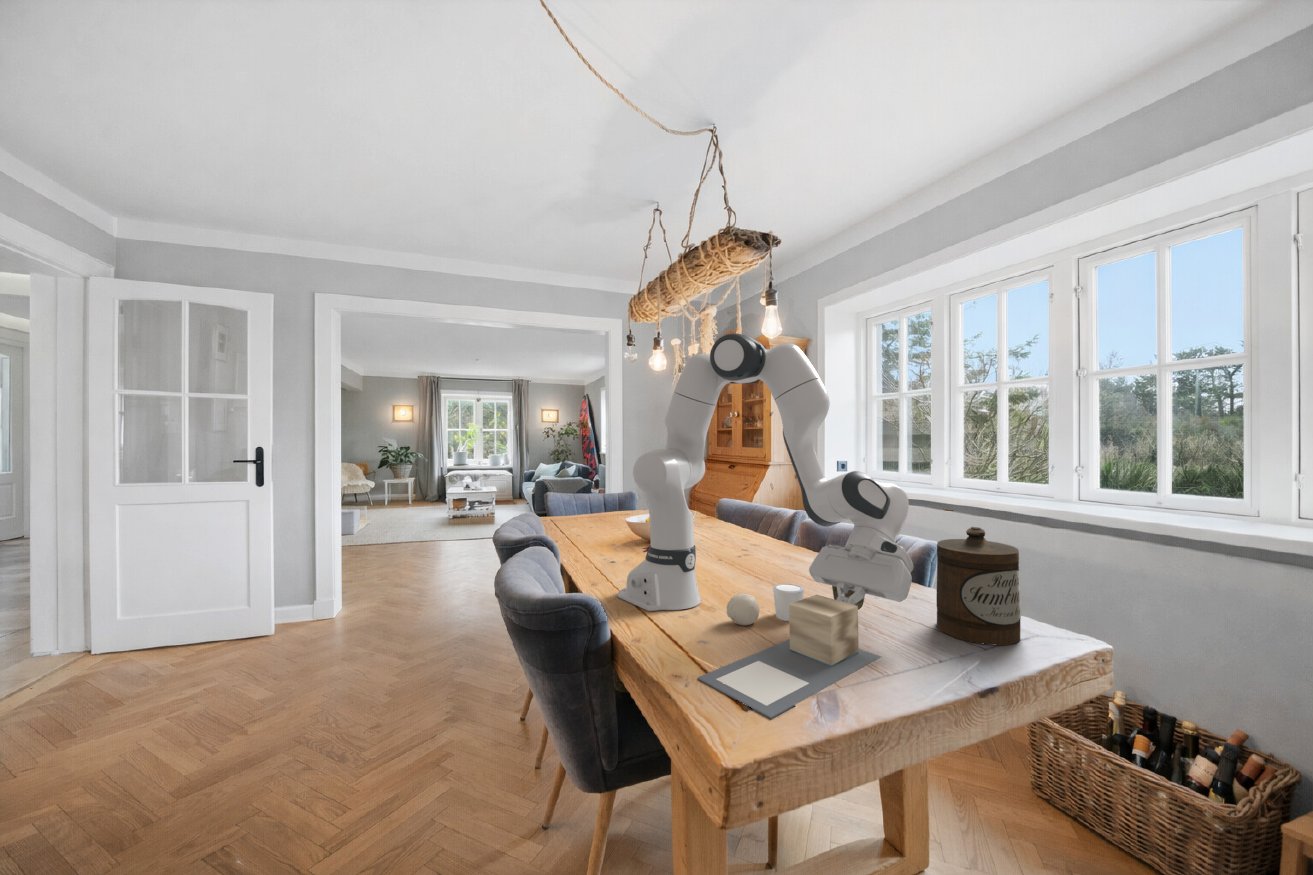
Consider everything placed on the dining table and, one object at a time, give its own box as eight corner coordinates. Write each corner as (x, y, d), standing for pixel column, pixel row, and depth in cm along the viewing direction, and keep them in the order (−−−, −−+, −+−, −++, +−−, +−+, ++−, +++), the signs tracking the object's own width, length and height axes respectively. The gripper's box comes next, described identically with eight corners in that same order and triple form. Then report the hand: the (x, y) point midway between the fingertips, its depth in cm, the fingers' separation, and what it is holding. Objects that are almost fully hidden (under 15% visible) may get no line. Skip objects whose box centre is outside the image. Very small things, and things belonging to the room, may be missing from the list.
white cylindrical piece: (805, 624, 111) (805, 592, 111) (773, 622, 112) (773, 591, 112) (802, 613, 117) (802, 583, 117) (772, 612, 119) (772, 582, 119)
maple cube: (817, 638, 102) (816, 594, 102) (858, 653, 95) (857, 605, 95) (789, 650, 96) (789, 604, 96) (831, 667, 89) (830, 616, 89)
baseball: (721, 620, 114) (721, 591, 114) (751, 617, 115) (751, 588, 115) (733, 631, 107) (732, 600, 107) (764, 628, 109) (764, 597, 109)
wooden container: (981, 650, 96) (979, 536, 96) (921, 623, 110) (919, 523, 110) (1039, 640, 100) (1037, 531, 100) (974, 615, 114) (972, 519, 114)
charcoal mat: (808, 632, 106) (808, 631, 106) (881, 658, 93) (881, 656, 93) (697, 679, 86) (697, 677, 86) (771, 719, 74) (771, 717, 74)
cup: (863, 623, 110) (863, 587, 110) (829, 618, 114) (828, 583, 114) (868, 613, 117) (867, 579, 117) (835, 608, 120) (834, 575, 120)
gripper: (818, 534, 113) (793, 586, 106) (911, 549, 96) (887, 611, 90) (830, 551, 115) (806, 602, 109) (922, 568, 99) (899, 629, 93)
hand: (843, 606), depth 100 cm, fingers closed
